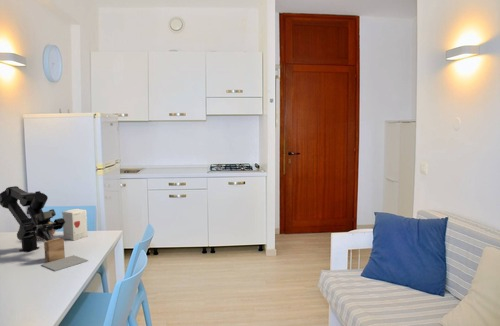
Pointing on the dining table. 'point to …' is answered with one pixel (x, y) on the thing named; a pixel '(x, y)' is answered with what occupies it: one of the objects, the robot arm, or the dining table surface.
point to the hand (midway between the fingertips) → (50, 241)
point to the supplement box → (75, 224)
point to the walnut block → (54, 249)
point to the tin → (51, 233)
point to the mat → (64, 263)
